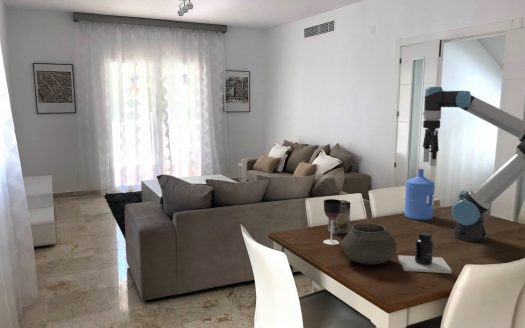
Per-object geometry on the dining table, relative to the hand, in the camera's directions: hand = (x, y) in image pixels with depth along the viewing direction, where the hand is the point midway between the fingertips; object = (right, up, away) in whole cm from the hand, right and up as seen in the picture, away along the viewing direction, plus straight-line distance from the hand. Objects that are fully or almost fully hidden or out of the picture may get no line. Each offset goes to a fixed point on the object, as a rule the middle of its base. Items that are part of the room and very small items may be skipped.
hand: (429, 164), depth 204 cm
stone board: (-14, -41, -31) cm, 54 cm away
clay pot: (-36, -41, -26) cm, 61 cm away
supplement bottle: (-14, -40, -31) cm, 53 cm away
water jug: (+11, -31, +44) cm, 55 cm away
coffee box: (-41, -35, +14) cm, 56 cm away
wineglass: (-48, -37, -2) cm, 61 cm away
